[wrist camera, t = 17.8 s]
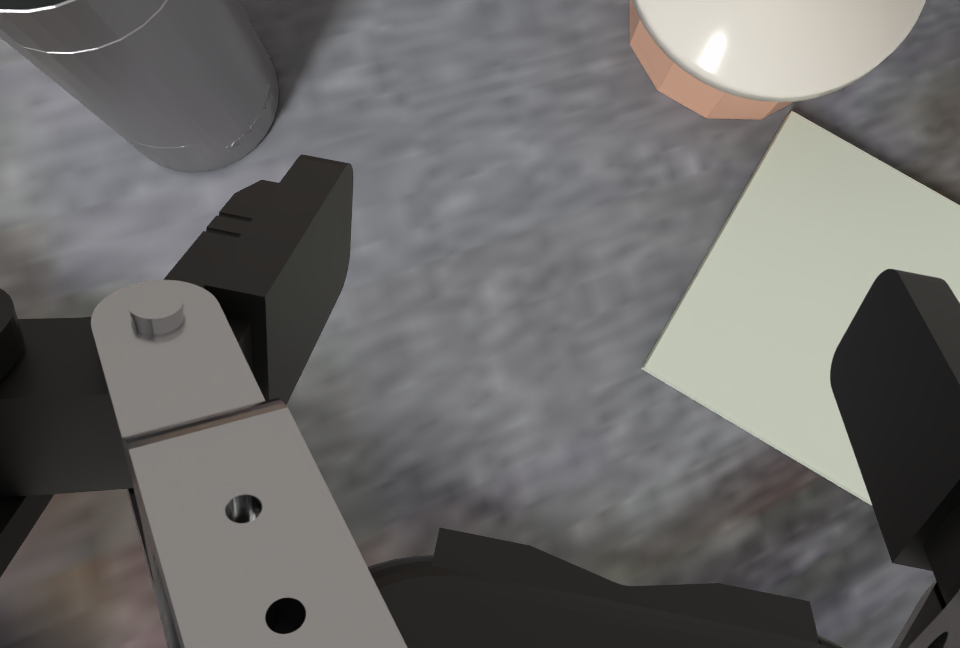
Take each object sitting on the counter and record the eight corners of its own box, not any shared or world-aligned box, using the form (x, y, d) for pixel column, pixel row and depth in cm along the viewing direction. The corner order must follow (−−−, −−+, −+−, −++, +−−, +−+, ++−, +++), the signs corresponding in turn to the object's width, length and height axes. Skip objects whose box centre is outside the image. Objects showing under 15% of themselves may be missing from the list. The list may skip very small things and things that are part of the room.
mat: (641, 368, 42) (644, 367, 42) (786, 116, 44) (791, 110, 43) (915, 531, 41) (923, 533, 41) (1051, 266, 43) (1062, 263, 42)
